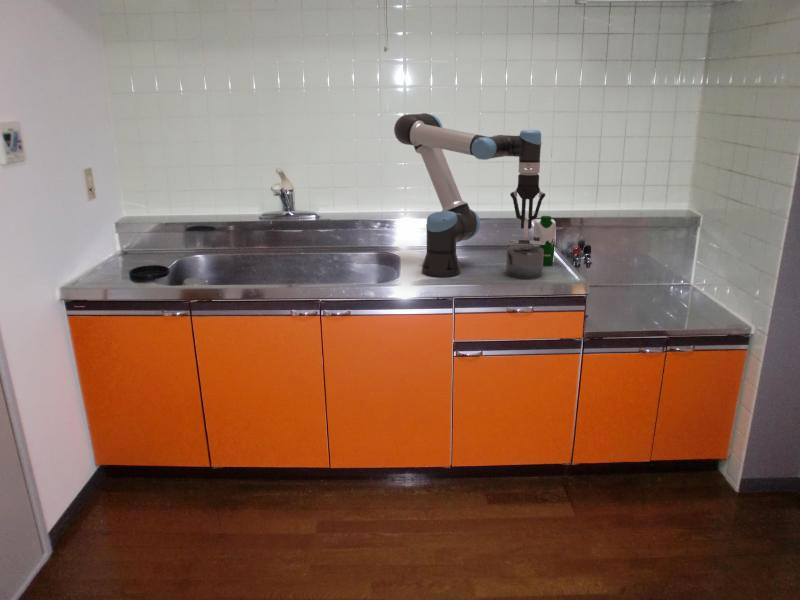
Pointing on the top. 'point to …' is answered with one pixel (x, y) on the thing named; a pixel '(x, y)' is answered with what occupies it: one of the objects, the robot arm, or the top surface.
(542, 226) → the milk carton
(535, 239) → the cooker lid
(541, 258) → the cooker pot
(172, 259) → the top surface
